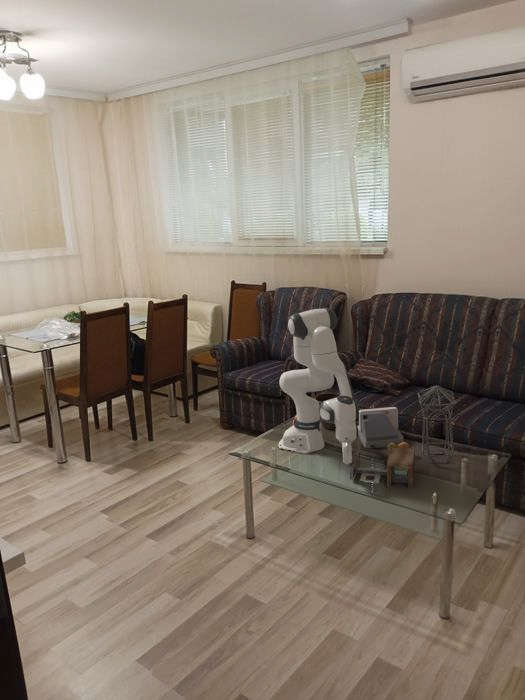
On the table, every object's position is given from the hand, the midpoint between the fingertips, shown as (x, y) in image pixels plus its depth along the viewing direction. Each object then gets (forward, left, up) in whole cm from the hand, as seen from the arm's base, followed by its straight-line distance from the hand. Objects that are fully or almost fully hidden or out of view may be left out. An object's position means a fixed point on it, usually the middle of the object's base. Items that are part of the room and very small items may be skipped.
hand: (347, 463), depth 243 cm
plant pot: (-18, +50, -5) cm, 54 cm away
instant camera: (+10, +38, -6) cm, 40 cm away
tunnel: (+23, 0, -5) cm, 23 cm away
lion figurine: (+20, +19, -6) cm, 29 cm away
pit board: (+10, 0, -5) cm, 12 cm away
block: (+23, 0, -5) cm, 23 cm away
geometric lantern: (+36, +21, -5) cm, 42 cm away
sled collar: (+15, 0, -5) cm, 15 cm away
